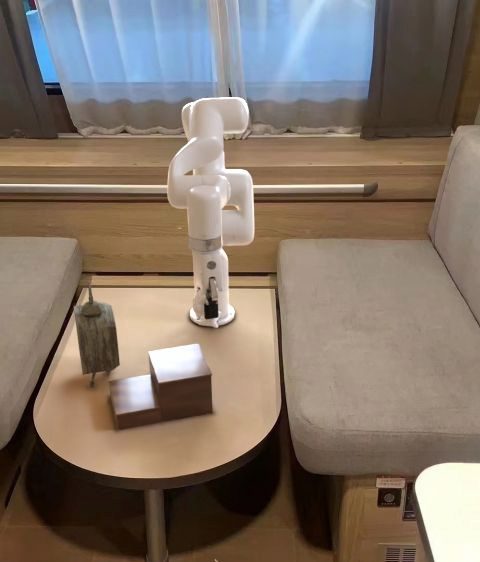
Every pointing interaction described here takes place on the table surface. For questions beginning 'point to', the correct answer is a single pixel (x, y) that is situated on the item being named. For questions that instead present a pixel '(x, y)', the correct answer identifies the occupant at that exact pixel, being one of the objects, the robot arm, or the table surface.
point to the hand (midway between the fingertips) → (207, 310)
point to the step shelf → (164, 389)
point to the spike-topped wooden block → (96, 337)
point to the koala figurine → (199, 309)
